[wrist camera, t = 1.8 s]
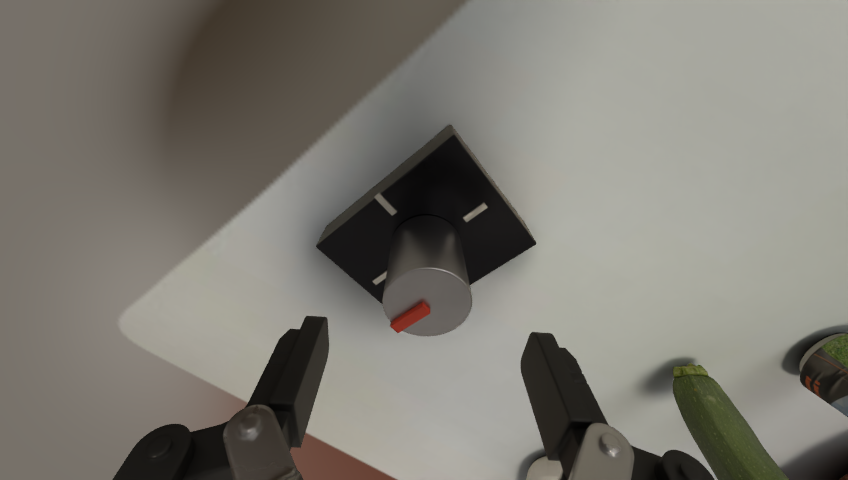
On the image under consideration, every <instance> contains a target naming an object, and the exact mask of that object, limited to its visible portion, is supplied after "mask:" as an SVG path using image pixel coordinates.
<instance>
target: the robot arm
mask: <svg viewBox="0 0 848 480" xmlns="http://www.w3.org/2000/svg"><path fill="white" fill-rule="evenodd" d="M328 352H329V337H328V321H327V317H317V316H306V317H305V319H304V321H303V324H302V326H301V328H300V330H299V329H290V330H289V331H287V332H286V333H285V334H284V335H283V336H282V337H281V338H280V339H279V341H278V343H277V345H276V347H275V349H274V352H273V354H272V355H271V357H270V359H269V363H268V364H267V366H266V368H265V370H264V372H263V374H262V376H261V378H260V380H259V382H258V384H257V386H256V388H255V390H254V392H253V394H252V396H251V398H250V400H249V402H248V404H247V406H246V407H245V408H244V409H242V410H241V411H239V412H238V413H236V414H235V415H234V416H233V417H232V418H231V419H230V420H229V421H227V422H225V423H223V424H221V425H217V426H213V427H209V428H205V429H202V430H197V431H193V432H190V431H189V429H188V428H187V427H185V426H184V425H181V424H169V425H165V426H162V427H159V428H157V429H155V430H154V431H152V432H150V433H149V434H147V435H146V436H145V437H143V438H142V439H141V440H140V441H139V442H138V443H137V444H136V445H135V447H134V448H133V449H132V451H131V452H130V454H129V455H128V457H127V458H126V460H125V461H124V463H123V465H122V466H121V468H120V469H119V471H118V472H117V474H116V475H115V477H114V478H113V480H303V478H302V476H301V474H300V472H298V470H297V469H296V466H295V464H294V461H293V459H292V456H291V453H290V449H291V447H301V444H302V441H303V438H304V435H305V431H306V428H307V425H308V421H309V418H310V415H311V412H312V408H313V405H314V402H315V398H316V395H317V392H318V388H319V385H320V382H321V378H322V375H323V372H324V369H325V365H326V362H327V358H328ZM521 373H522V377H523V380H524V383H525V386H526V390H527V393H528V396H529V399H530V403H531V406H532V409H533V412H534V416H535V419H536V422H537V425H538V429H539V432H540V435H541V438H542V442H543V445H544V448H545V451H546V455H547V458H548V460H550V461H560V463H561V466H562V469H563V470H562V472H561V474H560V476H559V479H558V480H714V478H713V477H712V475H711V474H710V473H709V471H708V470H707V469H706V468H705V467H704V466H703V465H702V464H701V463H700V462H699V461H697V460H696V459H695V458H693V457H692V456H690V455H688V454H686V453H684V452H681V451H677V450H670V451H667V452H666V453H665V454H664V455H663V456H662V457H660V456H657V455H655V454H652V453H649V452H646V451H644V450H641V449H638V448H636V447H633V446H631V445H630V443H629V442H628V440H627V439H626V438H625V437H624V436H623V435H622V434H621V433H620V432H619V431H618V430H616V429H615V428H613V427H611V426H609V425H608V423H607V421H606V419H605V417H604V415H603V413H602V411H601V409H600V407H599V405H598V403H597V401H596V399H595V397H594V395H593V393H592V391H591V389H590V387H589V385H588V384H587V381H586V379H585V377H584V375H583V374H582V371H581V369H580V367H579V365H578V363H577V361H576V359H575V358H574V357H573V356H572V355H571V354H570V353H569V352H568V350H567V349H566V348H559V346H558V344H557V342H556V340H555V338H554V336H553V335H552V334H551V333H538V332H532V333H531V334H530V336H529V338H528V341H527V344H526V347H525V349H524V352H523V355H522V358H521Z"/></svg>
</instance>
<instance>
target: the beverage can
mask: <svg viewBox="0 0 848 480" xmlns="http://www.w3.org/2000/svg"><path fill="white" fill-rule="evenodd" d="M799 370H800V372H801V373H800V381H801V383H802V385H803V386H804V387H806V388H807V389H808V390H810V391H811V392H813V393H814V394H816V395H817V396H819V397H820V398H821V399H823V400H824V401H826V402H827V403H829V404H830V405H831V406H833V407H834V408H836V409H837V410H839V411H840V412H841V413H843V414H844V415H846V416H847V417H848V333H847V334H846V333H841V334H835V335H832V336H829V337H827V338H825V339H823V340H821V341H819V342H818V343H816V344H815V345H814V346H812V347H811V348H810V349H809V350H808V351H807V352H806V353H805V355H804V356H803V358H802V359H801V362H800V365H799Z"/></svg>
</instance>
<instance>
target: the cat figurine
mask: <svg viewBox="0 0 848 480" xmlns="http://www.w3.org/2000/svg"><path fill="white" fill-rule="evenodd" d="M562 470H563V469H562V466H561V463H560V461H550V460H548V458H547V456H545V457H541V458H539V459H537V460H536V461H535V462H534V463H533V464H532V465H531V466H530V468H529V470H528V474H527V477H526V480H558V479H559V476H560V474H561V472H562Z"/></svg>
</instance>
